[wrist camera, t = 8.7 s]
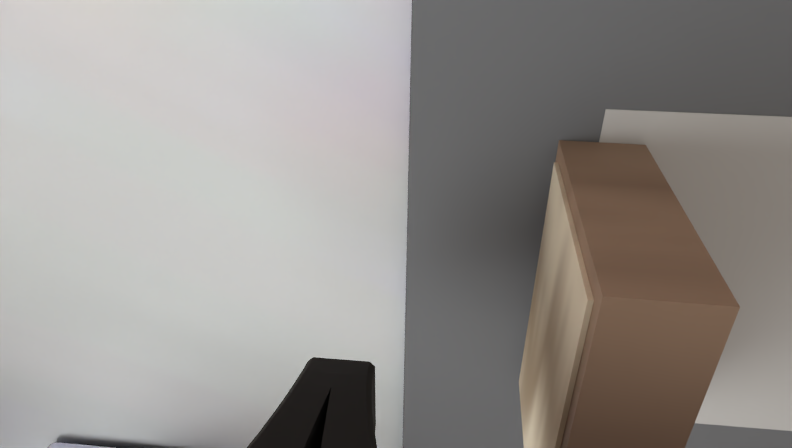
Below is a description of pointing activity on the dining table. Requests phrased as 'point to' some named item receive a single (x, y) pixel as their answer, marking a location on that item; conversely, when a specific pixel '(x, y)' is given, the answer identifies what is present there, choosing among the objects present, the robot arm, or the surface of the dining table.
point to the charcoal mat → (531, 177)
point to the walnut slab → (619, 308)
